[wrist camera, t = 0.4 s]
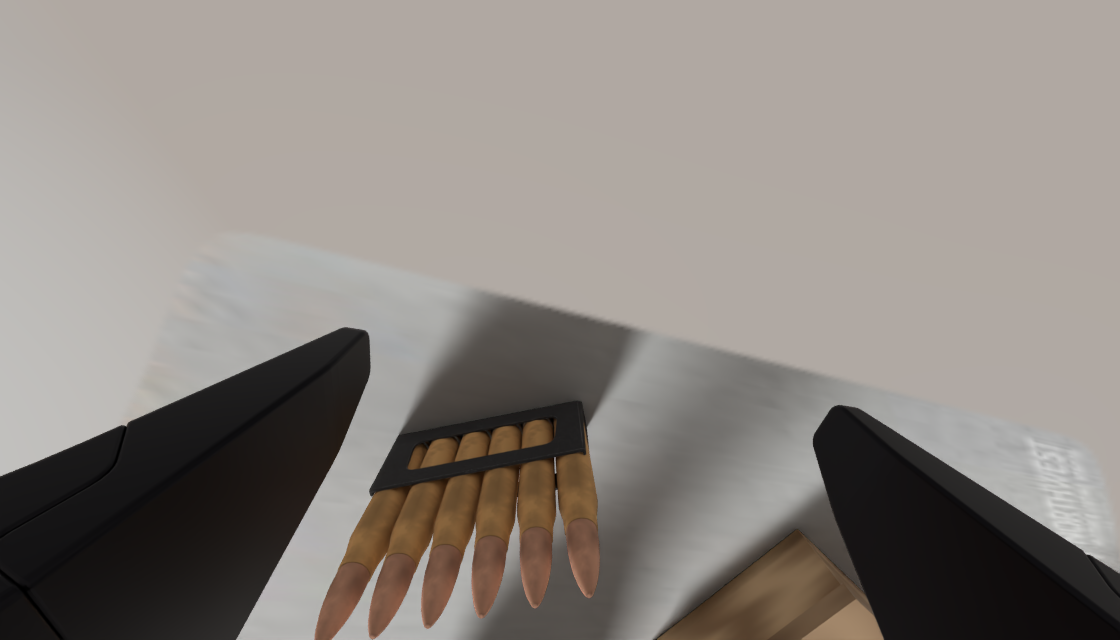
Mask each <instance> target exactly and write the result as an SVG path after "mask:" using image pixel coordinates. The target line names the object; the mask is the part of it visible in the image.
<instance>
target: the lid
mask: <svg viewBox="0 0 1120 640" xmlns="http://www.w3.org/2000/svg"><path fill="white" fill-rule="evenodd" d="M767 640H884V639H883V636H882V634H881V631H880V629H879V626H878V624H877V622H876V619H875V617H874V614H873V612H872V610H871V609H870V608H869V607H868V606H867V605H866V604H865V603H864V602H863V601H862V600H861V599H860V598H859V597H858V596H857V595H856V594H855V593H853V592H852V591H851V590H850V589H849V588H848V587H847V586H846V585H845V584H844V583H842V584H841V585H840V586H838V587H837V588H836V589H834V590H833V591H832V592H830V593H829V594H828V595H826V596H825V597H824V598H822V599H821V600H820V601H818V602H817V603H816V604H814V605H813V606H812V607H810V608H809V609H808V610H806V611H805V612H804V613H802V614H801V615H800V616H798V617H797V618H796V619H794V620H793V621H792V622H790V623H789V624H787V625H786V626H785V627H783V628H782V629H781V630H779V631H778V632H777V633H775V634H774V635H773V636H771V637H770V638H769V639H767Z"/></svg>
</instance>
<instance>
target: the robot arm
mask: <svg viewBox="0 0 1120 640" xmlns="http://www.w3.org/2000/svg"><path fill="white" fill-rule="evenodd" d="M370 368H371V365H370V340H369V335H368V333H367V332H366V331H365V330H360V329H354V328H348V327H343V328H340V329H338V330H336V331H334V332H331V333H329V334H327V335H325V336H322V337H320V338H318V339H316V340H313V341H311V342H309V343H306V344H304V345H302V346H300V347H297V348H295V349H293V350H291V351H288V352H286V353H284V354H282V355H279V356H277V357H275V358H273V359H270V360H268V361H266V362H264V363H261V364H259V365H257V366H255V367H252V368H250V369H248V370H245V371H243V372H241V373H239V374H236V375H234V376H232V377H230V378H227V379H225V380H223V381H221V382H218V383H216V384H214V385H212V386H209V387H207V388H205V389H203V390H200V391H198V392H196V393H193V394H191V395H189V396H187V397H184V398H182V399H180V400H178V401H175V402H173V403H171V404H169V405H166V406H164V407H162V408H160V409H157V410H155V411H153V412H150V413H148V414H146V415H144V416H141V417H139V418H137V419H135V420H132V421H130V422H129V423H128V424H127V427H126V426H124V425H121V426H118V427H116V428H114V429H112V430H110V431H107V432H105V433H103V434H101V435H98V436H96V437H94V438H92V439H89V440H87V441H85V442H82V443H80V444H77V445H75V446H73V447H71V448H68V449H66V450H63V451H61V452H59V453H57V454H54V455H52V456H49V457H47V458H45V459H42V460H40V461H38V462H35V463H33V464H31V465H28V466H25V467H23V468H20V469H18V470H15V471H13V472H10V473H8V474H5V475H3V476H0V640H236V639H237V637H238V635H239V633H240V632H241V630H242V628H243V626H244V624H245V622H246V621H247V619H248V617H249V615H250V613H251V612H252V610H253V608H254V606H255V604H256V602H257V601H258V599H259V597H260V595H261V593H262V592H263V590H264V588H265V586H266V584H267V582H268V581H269V579H270V577H271V575H272V573H273V571H274V570H275V568H276V566H277V564H278V562H279V561H280V559H281V557H282V555H283V553H284V551H285V550H286V548H287V546H288V544H289V542H290V541H291V539H292V537H293V535H294V533H295V531H296V530H297V528H298V526H299V524H300V522H301V520H302V519H303V517H304V515H305V513H306V511H307V510H308V508H309V506H310V504H311V502H312V500H313V499H314V497H315V495H316V493H317V491H318V490H319V488H320V486H321V484H322V482H323V480H324V479H325V477H326V475H327V473H328V471H329V469H330V468H331V466H332V464H333V462H334V460H335V458H336V456H337V454H338V452H339V450H340V448H341V446H342V443H343V441H344V439H345V436H346V434H347V431H348V429H349V426H350V424H351V421H352V419H353V416H354V414H355V411H356V409H357V406H358V404H359V401H360V399H361V396H362V394H363V391H364V389H365V386H366V384H367V381H368V379H369V375H370ZM813 447H814V451H815V454H816V457H817V461H818V464H819V468H820V471H821V474H822V478H823V481H824V484H825V488H826V491H827V494H828V498H829V501H830V504H831V508H832V511H833V514H834V517H835V520H836V522H837V525H838V528H839V530H840V533H841V535H842V538H843V540H844V543H845V545H846V548H847V550H848V553H849V555H850V557H851V560H852V562H853V565H854V567H855V570H856V572H857V575H858V577H859V580H860V582H861V585H862V587H863V590H864V592H865V594H866V597H867V599H868V602H869V604H870V607H871V609H872V612H873V614H874V617H875V619H876V622H877V624H878V626H879V629H880V631H881V634H882V636H883V639H884V640H1120V574H1119V573H1118V572H1116V571H1114V570H1113V569H1111V568H1110V567H1108V566H1107V565H1105V564H1103V563H1102V562H1100V561H1099V560H1097V559H1096V558H1094V557H1092V556H1091V555H1086V554H1085V553H1084V551H1083V550H1081V549H1080V548H1078V547H1076V546H1075V545H1073V544H1072V543H1070V542H1069V541H1067V540H1065V539H1064V538H1062V537H1061V536H1059V535H1058V534H1056V533H1054V532H1053V531H1051V530H1050V529H1048V528H1047V527H1045V526H1043V525H1042V524H1040V523H1039V522H1037V521H1035V520H1034V519H1032V518H1031V517H1029V516H1028V515H1026V514H1024V513H1023V512H1021V511H1020V510H1018V509H1017V508H1015V507H1013V506H1012V505H1010V504H1009V503H1007V502H1006V501H1004V500H1002V499H1001V498H999V497H998V496H996V495H995V494H993V493H991V492H990V491H988V490H987V489H985V488H983V487H982V486H980V485H979V484H977V483H976V482H974V481H972V480H971V479H969V478H968V477H966V476H965V475H963V474H961V473H960V472H958V471H957V470H955V469H954V468H952V467H950V466H949V465H947V464H946V463H944V462H943V461H941V460H939V459H938V458H936V457H935V456H933V455H932V454H930V453H928V452H927V451H925V450H924V449H922V448H920V447H919V446H917V445H916V444H914V443H913V442H911V441H909V440H908V439H906V438H905V437H903V436H902V435H900V434H898V433H897V432H895V431H894V430H892V429H891V428H889V427H887V426H886V425H884V424H883V423H881V422H880V421H878V420H876V419H875V418H873V417H872V416H870V415H869V414H867V413H865V412H864V411H862V410H860V409H858V408H855V407H849V406H842V405H837V406H834V407H833V408H831V410H830V411H829V412H828V414H827V415H826V417H825V418H824V420H823V421H822V423H821V424H820V426H819V427H818V429H817V430H816V432H815V434H814V437H813Z"/></svg>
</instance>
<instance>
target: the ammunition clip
mask: <svg viewBox="0 0 1120 640" xmlns="http://www.w3.org/2000/svg"><path fill="white" fill-rule="evenodd" d="M554 457H556V472H557V473H556V474H555V469H554ZM519 470H520V474H519ZM518 481H519V482H518ZM557 489H558V503H559V510H560V513H561V516H562V519H563V522H564V530H565V535H566V541H567V550H568V555H569V560H570V564H571V568H572V571H573V574H574V576H575V579H576V581H577V584H578V586H579V588H580V589H581V591H582V592H583V594H584V595H585V596H586V597H587V598H591V597H592V596H593V594H594V592H595V589H596V586H597V582H598V576H599V566H600V551H599V539H598V525H597V508H598V501H597V494H596V488H595V483H594V477H593V471H592V466H591V460H590V454H589V445H588V435H587V426H586V421H585V416H584V411H583V406H582V402H580V401H573V402H568V403H563V404H558V405H553V406H547V407H542V408H537V409H532V410H527V411H522V412H517V413H512V414H506V415H501V416H496V417H491V418H486V419H481V420H476V421H471V422H465V423H460V424H455V425H450V426H445V427H440V428H435V429H430V430H424V431H419V432H414V433H409V434H404V435H399V436H398V437H397V439H396V441H395V443H394V445H393V447H392V449H391V450H390V452H389V454H388V456H387V458H386V460H385V462H384V464H383V466H382V467H381V469H380V471H379V473H378V475H377V477H376V479H375V481H374V483H373V484H372V486H371V488H370V490H369V493H370V495H371V496H373V495H374V496H373V497H372V499H371V501H370V503H369V505H368V506H367V508H366V510H365V512H364V514H363V515H362V517H361V519H360V521H359V523H358V524H357V526H356V528H355V530H354V532H353V533H352V535H351V538H350V540H349V544H348V547H347V551H346V554H345V556H344V558H343V560H342V562H341V564H340V566H339V568H338V572H337V574H336V576H335V578H334V580H333V582H332V584H331V586H330V588H329V590H328V592H327V595H326V597H325V600H324V602H323V605H322V608H321V611H320V615H319V618H318V622H317V627H316V631H315V640H331V639H332V638H333V637H334V636H335V635H336V634H337V632H338V631H339V630H340V629H341V627H342V626H343V625H344V624H345V622H346V621H347V619H348V618H349V616H350V615H351V614H352V612H353V610H354V609H355V607H356V605H357V604H358V602H359V600H360V598H361V596H362V594H363V592H364V590H365V588H366V586H367V584H368V582H369V581H370V579H371V577H372V575H373V573H374V571H375V569H376V568H377V566H378V564H379V563H380V562H381V560H382V559H383V558H384V556H385V555H386V557H385V560H384V563H383V567H382V569H381V572H380V574H379V577H378V580H377V583H376V586H375V590H374V593H373V596H372V601H371V606H370V612H369V619H368V630H369V637H370V638H371V639H375V638H376V637H378V636H379V635H380V634H381V633H382V632H383V630H384V629H385V628H386V627H387V626H388V624H389V623H390V621H391V620H392V618H393V617H394V616H395V614H396V612H397V611H398V609H399V607H400V605H401V603H402V601H403V599H404V597H405V595H406V593H407V591H408V589H409V586H410V583H411V580H412V578H413V575H414V573H415V572H416V569H417V567H418V564H419V562H420V559H421V557H422V555H423V554H424V552H425V551H426V549H427V547H428V546H429V543H430V541H431V538H432V535H433V543H432V547H431V551H430V555H429V557H430V558H429V561H428V564H427V568H426V571H425V576H424V582H423V587H422V598H421V612H422V620H423V624H424V627H425V628H427V629H429V628H431V627H432V626H433V625H434V623H435V622H436V621H437V620H438V618H439V617H440V615H441V614H442V612H443V610H444V608H445V607H446V605H447V603H448V600H449V598H450V596H451V593H452V591H453V588H454V585H455V582H456V579H457V576H458V573H459V569H460V564H461V562H462V559H463V556H464V552H465V549H466V546H467V544H468V542H469V540H470V538H471V536H472V533H473V530H474V525H475V522H476V538H475V546H474V548H475V551H474V557H473V563H472V595H473V603H474V608H475V611H476V613H477V616H478V617H479V618H484V617H485V616H486V615H487V613H488V612H489V610H490V609H491V607H492V605H493V603H494V600H495V598H496V596H497V593H498V590H499V587H500V584H501V581H502V577H503V572H504V568H505V561H506V553H507V550H508V544H509V538H510V534H511V532H512V529H513V526H514V523H515V514H516V503H517V497H518V503H517V517H518V523H519V527H520V566H521V576H522V582H523V586H524V590H525V594H526V596H527V599H528V601H529V603H530V605H531V606H532V607H533V608H537V607H538V606H539V605H540V603H541V602H542V600H543V597H544V595H545V592H546V589H547V585H548V582H549V577H550V571H551V562H552V542H553V526H554V522H555V517H556V495H555V490H557ZM374 493H375V494H374ZM386 553H387V554H386Z"/></svg>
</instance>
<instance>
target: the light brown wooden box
mask: <svg viewBox="0 0 1120 640" xmlns="http://www.w3.org/2000/svg"><path fill="white" fill-rule="evenodd" d="M842 583H844V584H845V585H846V586H847V587H848V588H849V589H850V590H851V591H852V592H853V593H855V594H856V595H857V596H858V597H859V598H860V599H861V600H862V601H863V602H864V603H865V604H866V605H867V606H868V607H869V608H870V609H871V607H870V604H869V602H868V599H867V597H866V594H865V593H864V592H863V591H862V590H861V589H860V588H859V587H857V586H856V585H855V584H854V583H853V582H852V581H851V580H850V579H849V578H848V577H847V576H846V575H845V574H844V573H843V572H842V571H841V570H840V569H839V568H838V567H837V566H836V565H835V564H834V563H832V562H831V561H830V560H829V559H828V558H827V557H826V556H825V555H824V554H823V553H822V552H821V551H820V550H819V549H818V548H817V547H816V546H815V545H814V544H813V543H812V542H811V541H810V540H809V539H807V538H806V537H805V536H804V535H803V534H802V533H801V532H800V531H799V530H798V529H797V530H795V531H794V532H793V533H792V534H790V535H789V536H788V537H786V538H785V539H784V540H783V541H781V542H780V543H779V544H778V545H776V546H775V547H774V548H772V549H771V550H770V551H769V552H767V553H766V554H765V555H764V556H762V557H761V558H760V559H758V560H757V561H756V562H755V563H753V564H752V565H751V566H750V567H748V568H747V569H746V570H744V571H743V572H742V573H741V574H739V575H738V576H737V577H736V578H734V579H733V580H732V581H730V582H729V583H728V584H727V585H725V586H724V587H723V588H722V589H720V590H719V591H718V592H716V593H715V594H714V595H713V596H711V597H710V598H709V599H707V600H706V601H705V602H704V603H702V604H701V605H700V606H699V607H697V608H696V609H695V610H693V611H692V612H691V613H690V614H688V615H687V616H686V617H685V618H683V619H682V620H681V621H679V622H678V623H677V624H676V625H674V626H673V627H672V628H671V629H669V630H668V631H667V632H665V633H664V634H663V635H662V636H660V637H659V638H658V639H657V640H767V639H769V638H770V637H771V636H773V635H774V634H775V633H777V632H778V631H779V630H781V629H782V628H783V627H785V626H786V625H787V624H789V623H790V622H792V621H793V620H794V619H796V618H797V617H798V616H800V615H801V614H802V613H804V612H805V611H806V610H808V609H809V608H810V607H812V606H813V605H814V604H816V603H817V602H818V601H820V600H821V599H822V598H824V597H825V596H826V595H828V594H829V593H830V592H832V591H833V590H834V589H836V588H837V587H838V586H840V585H841V584H842ZM871 610H872V609H871Z"/></svg>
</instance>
